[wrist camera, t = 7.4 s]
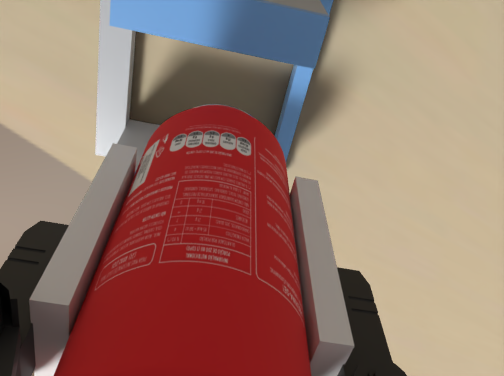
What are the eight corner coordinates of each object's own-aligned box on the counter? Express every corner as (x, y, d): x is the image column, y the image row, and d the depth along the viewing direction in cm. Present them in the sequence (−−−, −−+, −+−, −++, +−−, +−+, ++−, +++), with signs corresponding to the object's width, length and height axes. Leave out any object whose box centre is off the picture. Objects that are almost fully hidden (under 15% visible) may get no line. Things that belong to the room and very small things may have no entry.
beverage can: (307, 122, 17) (385, 465, 7) (254, 227, 20) (256, 584, 10) (170, 71, 16) (32, 389, 6) (134, 188, 19) (-5, 546, 9)
